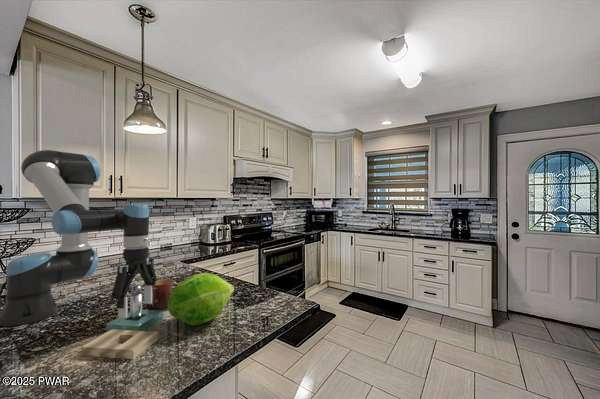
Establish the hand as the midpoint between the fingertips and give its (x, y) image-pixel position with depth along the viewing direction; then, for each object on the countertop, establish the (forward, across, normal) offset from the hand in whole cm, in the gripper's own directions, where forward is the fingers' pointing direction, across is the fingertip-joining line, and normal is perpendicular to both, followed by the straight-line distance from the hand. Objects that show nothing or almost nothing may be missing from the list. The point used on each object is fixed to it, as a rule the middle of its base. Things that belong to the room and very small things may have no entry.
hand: (136, 309), depth 90 cm
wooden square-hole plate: (+6, -13, -6) cm, 15 cm away
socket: (+6, 0, 0) cm, 6 cm away
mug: (+6, +15, +2) cm, 16 cm away
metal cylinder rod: (+6, 0, 0) cm, 6 cm away
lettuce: (+6, +6, -22) cm, 24 cm away
